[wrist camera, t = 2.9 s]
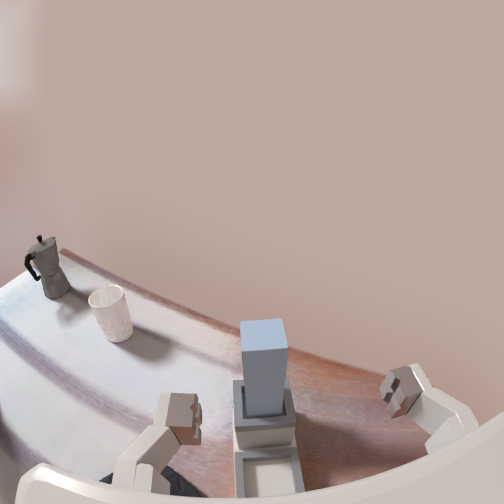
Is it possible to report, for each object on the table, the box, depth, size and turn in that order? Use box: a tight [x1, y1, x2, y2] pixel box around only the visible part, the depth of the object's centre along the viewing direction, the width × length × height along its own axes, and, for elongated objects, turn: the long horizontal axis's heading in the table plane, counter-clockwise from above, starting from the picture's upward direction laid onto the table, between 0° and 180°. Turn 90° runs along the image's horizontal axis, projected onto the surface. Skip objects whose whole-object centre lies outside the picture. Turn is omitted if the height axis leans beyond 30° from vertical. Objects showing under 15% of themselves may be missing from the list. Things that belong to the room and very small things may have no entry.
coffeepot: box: [25, 235, 70, 299], centre depth 63 cm, size 15×9×18 cm, turn 0°
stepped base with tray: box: [232, 376, 305, 498], centre depth 28 cm, size 16×8×10 cm, turn 4°
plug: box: [240, 319, 288, 419], centre depth 28 cm, size 5×4×13 cm
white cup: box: [88, 285, 133, 343], centre depth 52 cm, size 8×8×10 cm
